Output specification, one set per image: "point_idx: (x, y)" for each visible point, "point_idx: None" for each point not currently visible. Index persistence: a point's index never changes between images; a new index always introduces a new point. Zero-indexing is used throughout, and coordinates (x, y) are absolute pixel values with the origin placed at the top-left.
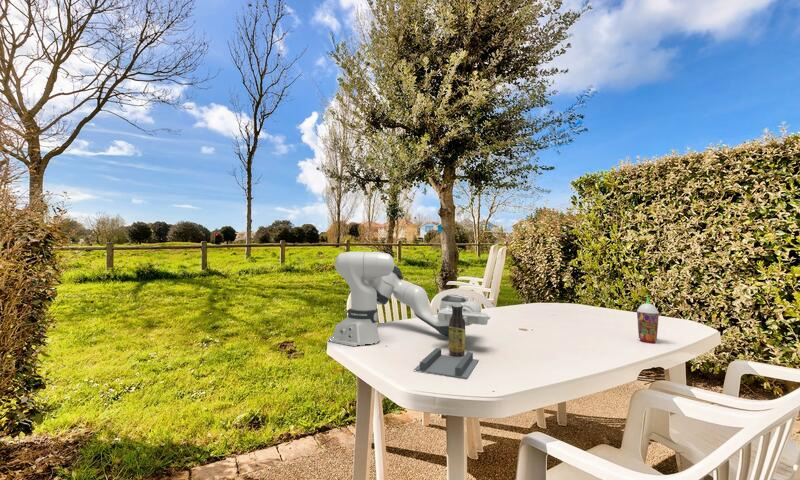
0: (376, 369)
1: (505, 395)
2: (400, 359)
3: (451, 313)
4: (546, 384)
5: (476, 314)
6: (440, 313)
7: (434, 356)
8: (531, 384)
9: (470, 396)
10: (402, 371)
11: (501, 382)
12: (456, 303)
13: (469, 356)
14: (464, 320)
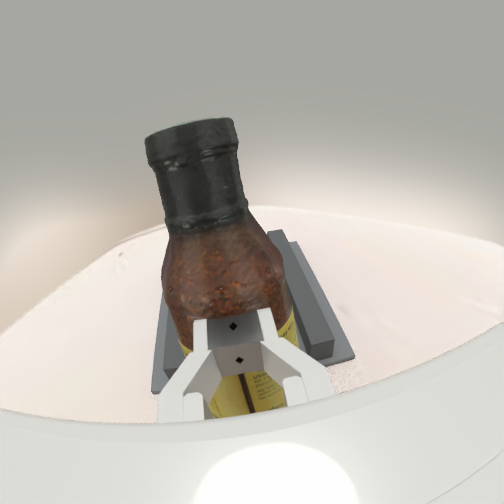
0: (361, 220)
1: (105, 252)
2: (385, 273)
3: (393, 375)
4: (28, 312)
5: (44, 462)
6: (489, 330)
7: (286, 283)
8: (51, 301)
9: (156, 229)
10: (314, 234)
11: (100, 285)
12: (199, 121)
13: (168, 322)
14: (163, 280)
